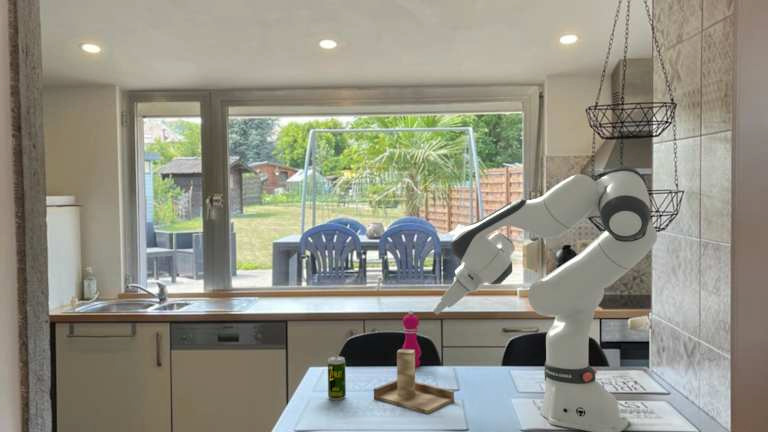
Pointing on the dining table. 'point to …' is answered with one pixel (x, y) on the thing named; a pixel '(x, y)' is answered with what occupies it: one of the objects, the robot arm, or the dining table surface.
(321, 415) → the dining table surface
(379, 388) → the wooden tray
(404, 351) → the plank offcut
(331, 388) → the beer can
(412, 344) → the pepper mill
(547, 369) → the robot arm
